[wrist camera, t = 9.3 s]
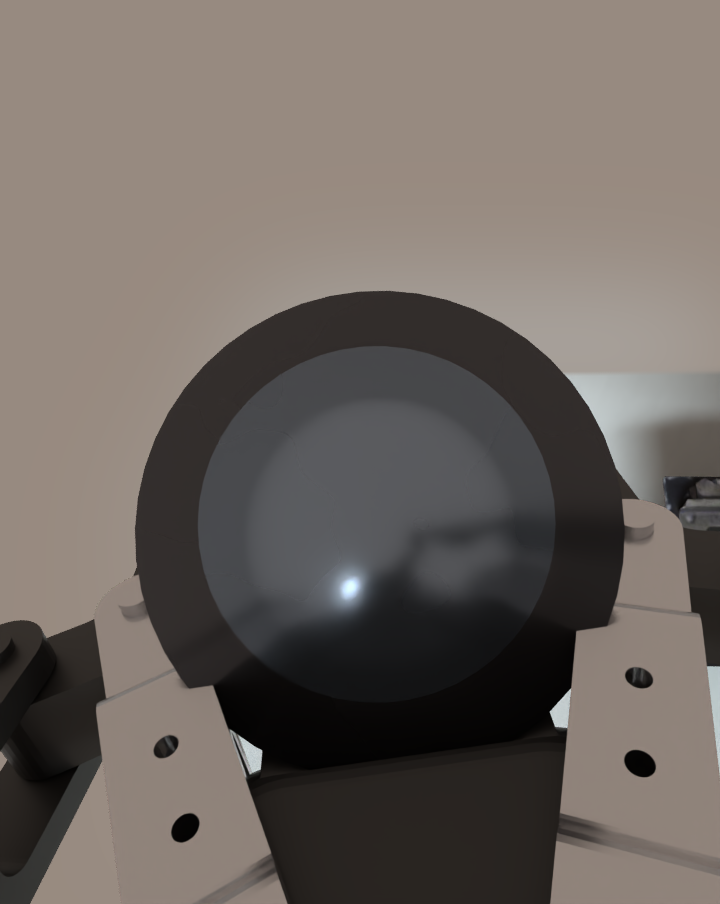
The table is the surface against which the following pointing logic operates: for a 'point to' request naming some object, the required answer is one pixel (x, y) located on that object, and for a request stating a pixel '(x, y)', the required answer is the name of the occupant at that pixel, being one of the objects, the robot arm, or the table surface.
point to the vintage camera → (694, 503)
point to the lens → (378, 530)
